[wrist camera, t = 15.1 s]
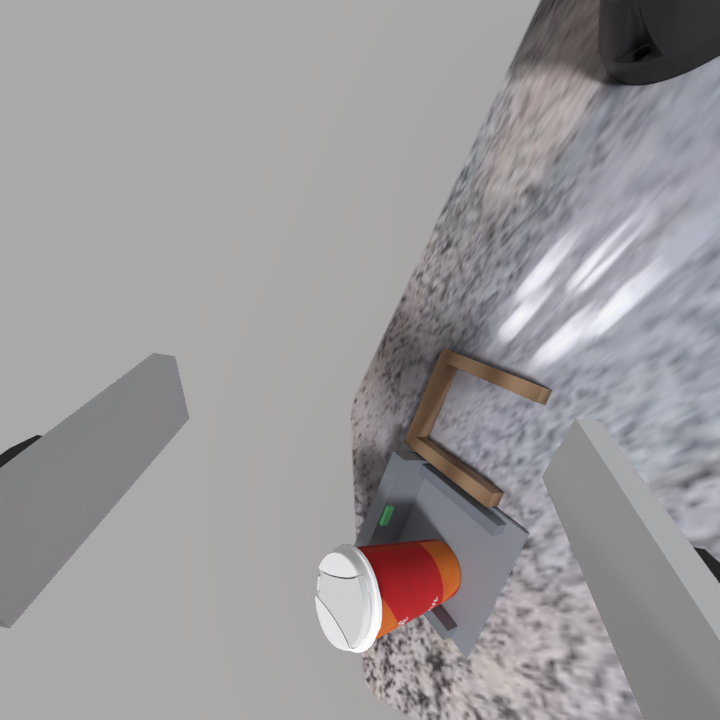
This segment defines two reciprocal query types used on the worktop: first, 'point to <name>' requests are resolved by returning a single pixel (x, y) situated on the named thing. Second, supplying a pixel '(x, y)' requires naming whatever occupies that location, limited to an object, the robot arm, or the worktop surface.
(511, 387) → the wooden u-shaped frame
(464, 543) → the port dock
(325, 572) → the coffee cup
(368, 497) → the worktop surface
